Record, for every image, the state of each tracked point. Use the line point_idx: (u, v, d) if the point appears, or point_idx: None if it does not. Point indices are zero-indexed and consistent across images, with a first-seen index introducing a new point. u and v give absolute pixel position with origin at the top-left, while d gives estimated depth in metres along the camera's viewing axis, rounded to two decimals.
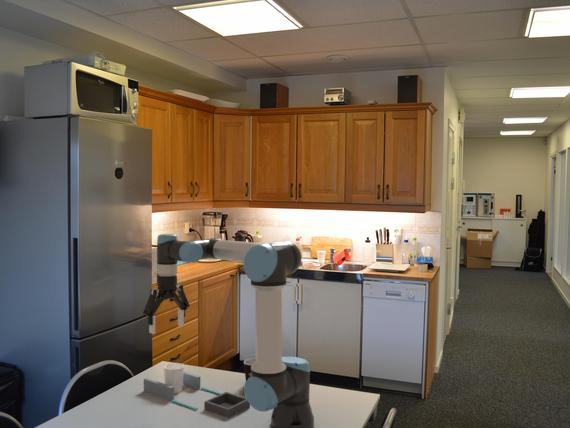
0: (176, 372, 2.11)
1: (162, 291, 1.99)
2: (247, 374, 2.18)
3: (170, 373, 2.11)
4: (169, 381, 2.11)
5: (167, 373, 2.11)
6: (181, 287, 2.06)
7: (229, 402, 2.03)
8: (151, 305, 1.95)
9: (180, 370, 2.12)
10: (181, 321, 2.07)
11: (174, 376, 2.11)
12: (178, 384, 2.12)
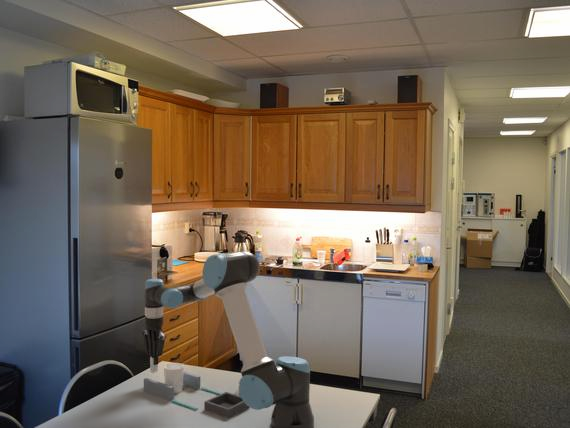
0: (176, 372, 2.11)
1: (147, 329, 2.21)
2: None
3: (170, 373, 2.11)
4: (169, 381, 2.11)
5: (167, 373, 2.11)
6: (160, 337, 2.17)
7: (229, 402, 2.03)
8: (145, 344, 2.22)
9: (180, 370, 2.12)
10: None
11: (174, 376, 2.11)
12: (178, 384, 2.12)
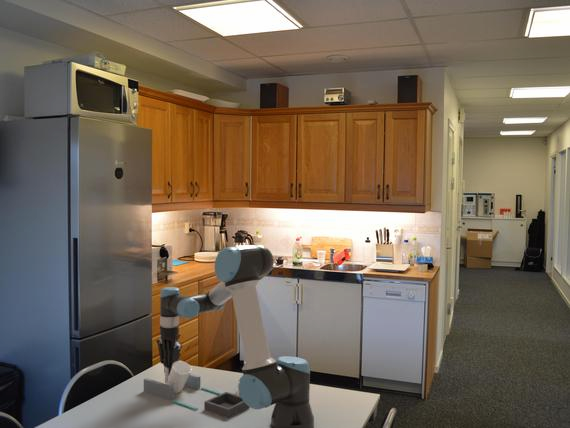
0: (182, 376, 2.09)
1: (162, 338, 2.16)
2: None
3: (176, 375, 2.08)
4: (173, 381, 2.10)
5: (173, 374, 2.09)
6: (176, 347, 2.11)
7: (229, 402, 2.03)
8: (160, 354, 2.17)
9: (187, 375, 2.09)
10: None
11: (179, 379, 2.09)
12: (181, 386, 2.11)
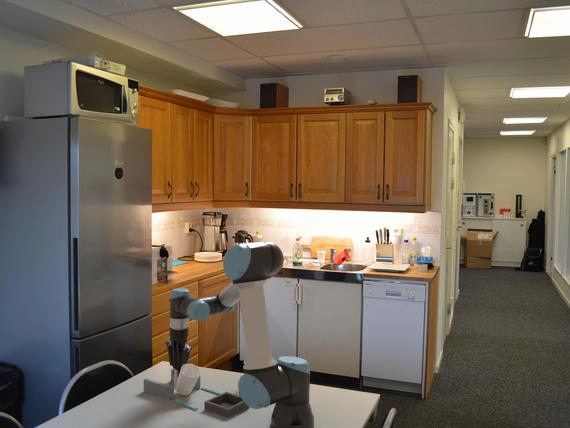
0: (191, 379, 2.05)
1: (171, 340, 2.13)
2: None
3: (185, 378, 2.05)
4: (182, 384, 2.07)
5: (182, 377, 2.06)
6: (185, 349, 2.08)
7: (229, 402, 2.03)
8: (169, 356, 2.14)
9: (195, 378, 2.06)
10: None
11: (188, 382, 2.06)
12: (189, 389, 2.08)
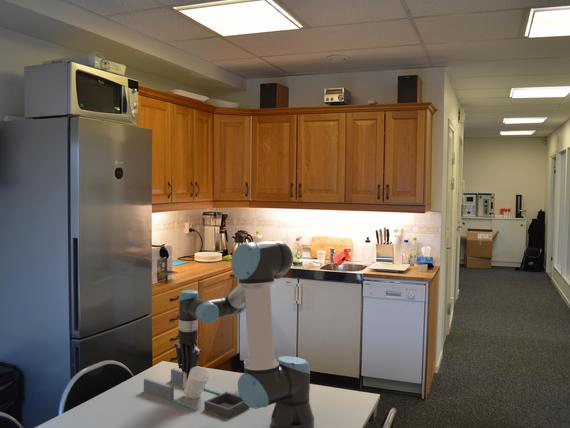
0: (200, 383, 2.02)
1: (180, 342, 2.10)
2: None
3: (194, 382, 2.02)
4: (190, 387, 2.03)
5: (190, 380, 2.03)
6: (195, 352, 2.05)
7: (229, 402, 2.03)
8: (178, 358, 2.11)
9: (204, 381, 2.03)
10: None
11: (196, 385, 2.02)
12: (198, 392, 2.05)
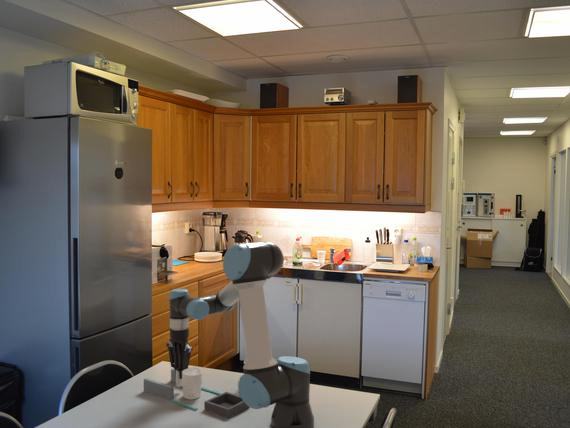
0: (194, 378, 2.04)
1: (172, 341, 2.13)
2: None
3: (187, 379, 2.04)
4: (186, 387, 2.05)
5: (184, 379, 2.05)
6: (186, 349, 2.08)
7: (229, 402, 2.03)
8: (170, 357, 2.14)
9: (198, 376, 2.05)
10: None
11: (191, 382, 2.04)
12: (196, 390, 2.06)
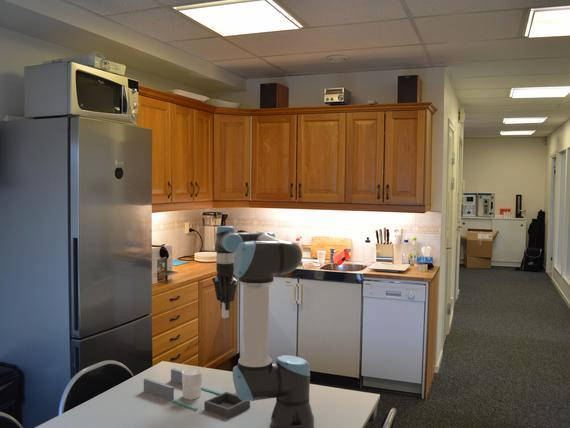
0: (193, 378, 2.05)
1: (218, 275, 2.25)
2: None
3: (187, 379, 2.05)
4: (186, 387, 2.05)
5: (184, 379, 2.05)
6: (233, 281, 2.20)
7: (229, 402, 2.03)
8: (216, 291, 2.26)
9: (197, 375, 2.05)
10: None
11: (191, 382, 2.05)
12: (196, 390, 2.06)
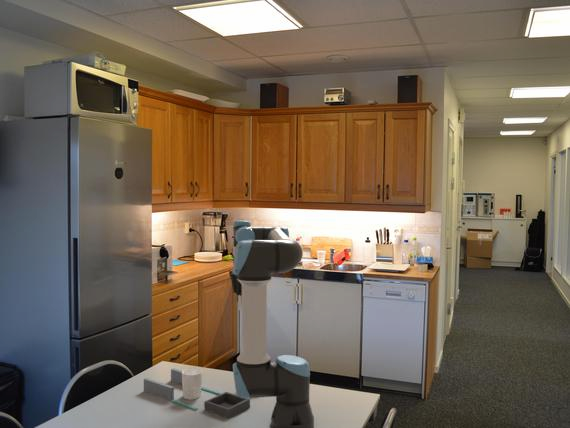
0: (193, 378, 2.05)
1: None
2: None
3: (187, 379, 2.05)
4: (186, 387, 2.05)
5: (184, 379, 2.05)
6: None
7: (229, 402, 2.03)
8: (232, 283, 2.31)
9: (197, 375, 2.05)
10: None
11: (191, 382, 2.05)
12: (196, 390, 2.06)
